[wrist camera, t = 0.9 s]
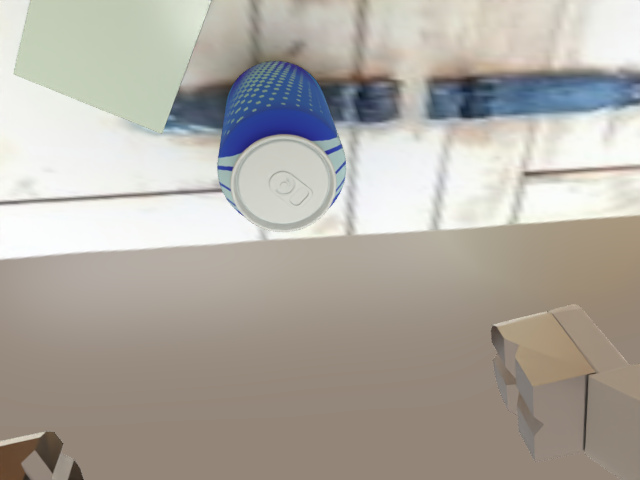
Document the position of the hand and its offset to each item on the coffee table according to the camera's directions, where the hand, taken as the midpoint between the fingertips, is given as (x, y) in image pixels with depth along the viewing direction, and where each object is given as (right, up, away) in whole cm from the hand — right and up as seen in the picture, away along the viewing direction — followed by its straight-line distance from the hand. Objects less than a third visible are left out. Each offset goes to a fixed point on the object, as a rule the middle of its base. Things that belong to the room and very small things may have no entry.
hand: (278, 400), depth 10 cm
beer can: (-3, +14, +38) cm, 41 cm away
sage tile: (-16, +19, +34) cm, 42 cm away
